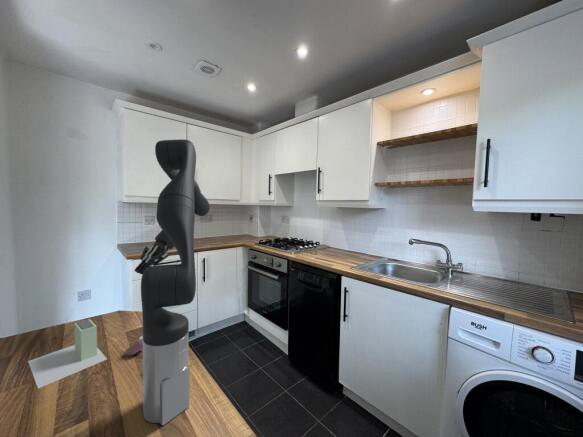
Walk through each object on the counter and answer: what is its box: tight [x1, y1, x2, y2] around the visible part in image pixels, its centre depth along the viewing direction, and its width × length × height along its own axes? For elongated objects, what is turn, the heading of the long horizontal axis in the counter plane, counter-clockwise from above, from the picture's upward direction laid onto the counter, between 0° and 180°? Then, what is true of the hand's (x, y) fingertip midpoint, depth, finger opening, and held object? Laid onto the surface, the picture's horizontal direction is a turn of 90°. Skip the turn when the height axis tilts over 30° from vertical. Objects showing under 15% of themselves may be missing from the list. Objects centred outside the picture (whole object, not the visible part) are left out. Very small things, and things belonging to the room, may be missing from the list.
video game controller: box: [125, 333, 143, 357], centre depth 75 cm, size 10×5×7 cm, turn 179°
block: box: [73, 318, 98, 361], centre depth 71 cm, size 7×4×9 cm, turn 54°
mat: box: [27, 344, 108, 389], centre depth 68 cm, size 16×14×1 cm
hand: (138, 272), depth 82 cm, fingers closed
